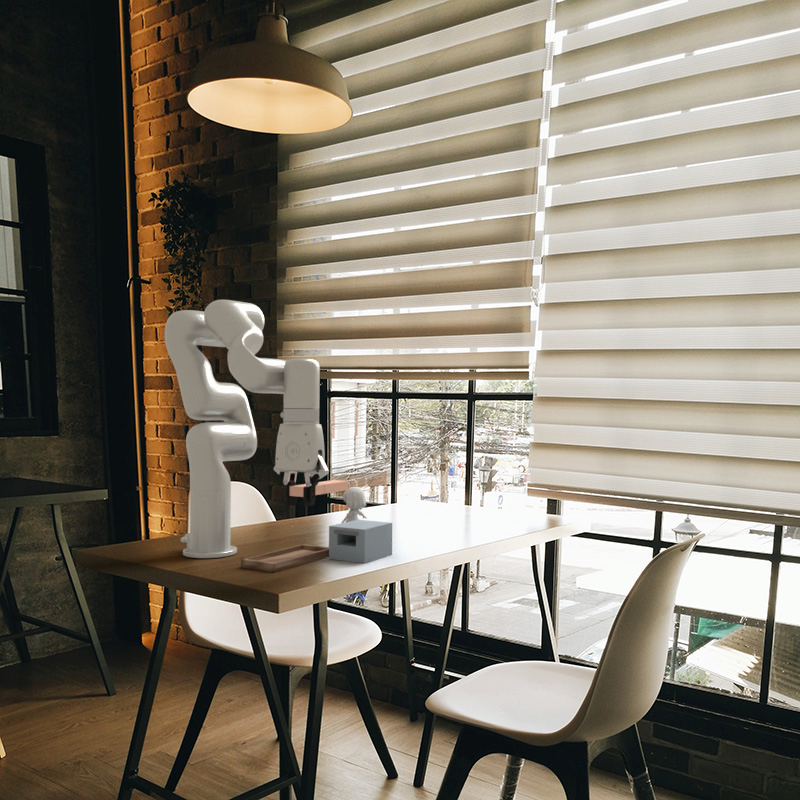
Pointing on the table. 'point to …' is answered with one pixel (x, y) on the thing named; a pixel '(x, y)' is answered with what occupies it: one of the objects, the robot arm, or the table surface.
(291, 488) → the pink rectangular bar
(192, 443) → the robot arm
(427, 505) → the table surface
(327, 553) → the tray
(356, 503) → the figurine
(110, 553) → the table surface
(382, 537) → the dispenser
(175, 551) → the table surface
